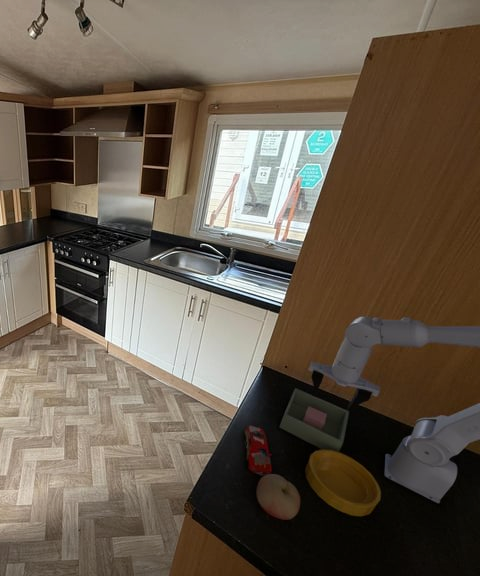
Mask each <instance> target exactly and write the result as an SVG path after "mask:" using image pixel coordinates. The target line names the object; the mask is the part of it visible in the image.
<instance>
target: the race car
mask: <svg viewBox="0 0 480 576" xmlns="http://www.w3.org/2000/svg"><path fill="white" fill-rule="evenodd" d="M243 440H244V448H245V457H246V462H247V468H248V469H249V471H251V472H252V473H253V474H255V475H257V476H260V477H264V476H265V475H268V474H272V469H273V468H272V463H271V457H270V456H272V453H270V451H269V446H268V440H267V436H266V433H265V430H264V429H262V428H261V427H258V426H254V425H248V426H247V427H246V428H245V430H244V433H243Z"/></svg>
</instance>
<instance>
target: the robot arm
mask: <svg viewBox="0 0 480 576" xmlns="http://www.w3.org/2000/svg"><path fill="white" fill-rule="evenodd" d="M429 343H432V344H440V345H451V346H462V347H472V348H480V325H449V326H447V325H437V326H436V325H430V326H429V325H427V324H426V323H423V322H422V321H421V320H416V319H415V320H414V319H413V320H412V318H411V317H402V318H401V319H381V318H380V317H373V318H372V317H369V316H359V317H358V318H355V319H354V320H353V321H352V322H351V323H350V324H349V325H348V326H347V327H346V329H345V330H344V339H343V341H342V342H341V344H340V347H339V348H338V351H337V353H336V357H335V358H334V360H333V364H332V365H329V364H323V363H319V362H314V361H311V362H310V364H309V367H308V369H307V371H309V372H311V381H312V385H313V394H312V396H314V397H318V393H319V390H320V387H321V384H322V382H323V379H324V377H327V378H329V379H331V380H333V381H334V382H335V383H336V384H337V385H338V386H341V387H344V388H346V387H350V388H351V387H352V388H356V390H355V392H354V394H353V397H352V398H351V400H350V401H349V402H348V404H347V409H346V410H347V411H349V413H351V412H352V411H353V410H354V409H355V408H357V406H359V405H361V404H363V403H365V402H368V401H370V399H371V398H372V397H371V396H374V397H376V398H377V397H378V396H379V394H380V392H381V386H380V385H377V384H375V383H373V382H371V381H369V380H367V379H365V378H363V377H361V375H362V373H363V372H364V371H363V370H364V369H365V367H366V364H367V363H368V361H369V358H370V356H371V354H372V349H373V347H374V346H375V345H380V346H395V347H407V348H408V347H409V348H422V347H424V346H425V345H427V344H429ZM413 427H414V428H413V430H412V432H411V434H410V435H408V436H405V437H404V438H403V439H402V440H401V442H400V444H399V445H398V447H396V450H395V452H394V453H393V454H392V455H391V454H389V453H386V454H385V456H384V457H385V458H384V477H385V478H387V479H389V480H391V481H393V482H395V483H397V484H399V485H401V486H402V487H405V488H407V489H409V490H411V491H413V492H414V493H417V494H419V495H421V496H422V497H425V498H426V499H429V500H431V501H433V502H434V503H437V504H440V503H441V500H442V498H443V497H444V496H445V495H446V493H447V492H448V491H449V490H450V489H451V488H452V486H453V485H454V483H455V481H456V479H457V476H458V466H457V464H456V462H453V461H451V460H450V459H451V458H452V457H454V456H457V455H459V454H460V453H461V452H462V451H463V450H464V449H465V448H466V447H467V446H468V445H469V444H471V443H473V442H476V441H479V440H480V402H479V403H477V404H474V405H472V406H469V407H467V408H465V409H463V410H460V411H458V412H456V413H453V414H450V415H448V416H447V415H444V414H440V415H437V416H435V417H421V418H418V419H417V420H416V421H415V423H414V426H413Z"/></svg>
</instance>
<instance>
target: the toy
mask: <svg viewBox="0 0 480 576" xmlns="http://www.w3.org/2000/svg"><path fill="white" fill-rule="evenodd" d="M326 416H327V414H326V413H323V412H321V411H319V410H317V409H314V408H312V407H310V406H308V409H307V411H306V413H305V416H304V418H303V421H302V422H304V423H306V424H308V425H310V426H312V427H314V428H316V429H318V430H320V431H321V430H322V428H323V426H324V423H325V420H326Z"/></svg>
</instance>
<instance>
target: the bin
mask: <svg viewBox="0 0 480 576" xmlns="http://www.w3.org/2000/svg"><path fill="white" fill-rule="evenodd" d="M308 406H310V407H312V408H314V409H317V410H319V411H321V412H323V413H326V414H327V416H326V420H325V423H324V426H323V428H322V430H321V431H320V430H318V429H316V428H314V427H312V426H310V425H308V424H306V423H304V422H302V421H303V418H304V416H305V413H306V411H307V409H308ZM349 415H350V412H349V411H347V409H345V408H342V407H340V406H339V405H335V404H333V403H331V402H328V401H326V400H324V399H322V398H319V397H318V396H316V397H314V396H313V394H310V393H307V392H305V391H303V390H301V389H299V388H296V387H295V388H294V390H293V392H292V394H291V396H290V399H289V402H288V405H287V406H286V409H285V411H284V414H283V415H282V419H281V421H280V424H279V429H282V430H283V431H285V432H287V433H289V434H291V435H293V436H295V437H297V438H299V439H301V440H303V441H305V442H307V443H308V444H311V445H312V446H315V447H317V448H318V449H319V450H322V449H326V450H333V451H336V452H340V450H341V448H342V447H343V444H344V440H345V436H346V430H347V425H348V420H349Z"/></svg>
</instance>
